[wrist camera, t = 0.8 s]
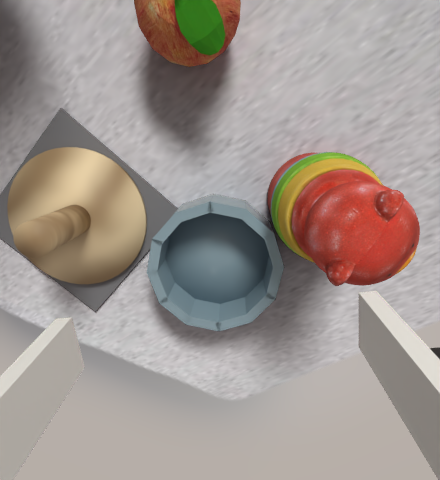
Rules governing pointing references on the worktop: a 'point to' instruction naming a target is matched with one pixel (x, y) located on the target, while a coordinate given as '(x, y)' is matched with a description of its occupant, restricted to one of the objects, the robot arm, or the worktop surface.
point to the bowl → (215, 263)
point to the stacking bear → (342, 218)
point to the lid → (77, 215)
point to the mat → (75, 135)
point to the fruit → (188, 28)
